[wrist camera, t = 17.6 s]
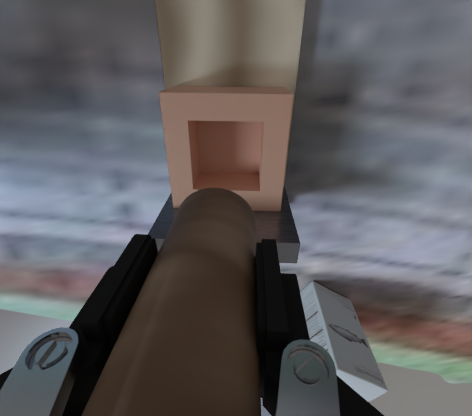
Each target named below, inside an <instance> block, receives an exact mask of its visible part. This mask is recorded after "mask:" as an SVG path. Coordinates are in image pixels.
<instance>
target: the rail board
mask: <svg viewBox="0 0 472 416" xmlns="http://www.w3.org/2000/svg"><path fill="white" fill-rule="evenodd" d="M305 2H306V0H155V5H156V14H157V23H158V32H159V40H160V49H161V58H162V66H163V75H164V84H165V90H166V89H168V88H171V87H173V86H218V87H285V88H286V89H287V90H289V91H290V92H291V93H292V94H293V101H292V111H291V120H290V129H289V138H288V147H287V156H286V165H285V174H284V183H283V187H285V179H286V170H287V161H288V152H289V143H290V135H291V126H292V117H293V108H294V99H295V90H296V82H297V73H298V64H299V55H300V46H301V37H302V28H303V20H304V11H305Z"/></svg>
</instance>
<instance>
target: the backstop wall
mask: <svg viewBox="0 0 472 416" xmlns="http://www.w3.org/2000/svg"><path fill="white" fill-rule="evenodd" d="M178 210H179V208H173V201H172V193H171V194H170V196H169V198H168V200H167V201H166V203H165V205H164V207H163V208H162V210H161V212H160V214H159V216H158V217H157V219H156V221H155V223H154V224H153V226H152V228H151V230H150V231H149V233H148V235H151V238H154V239H155V240H156V244H157V250H158V252H159V250H160V248H161V246H162V244H163V241H164V239H165V237H166V235H167V233H168V231H169V229H170V227H171V224H172V222H173V220H174V218H175V216H176V214H177V212H178ZM253 213H254V216H255V228H256V242H261V241H262V239H276V244H277V251H278V258H279V263H297V260H298V254H299V248H300V241H299V237H298V234H297V230H296V227H295V223H294V219H293V216H292V212H291V209H290V205H289V201H288V198H287V194H286V191H285V187H283V192H282V202H281V211H258V210H253Z"/></svg>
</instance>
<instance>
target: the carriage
mask: <svg viewBox="0 0 472 416" xmlns="http://www.w3.org/2000/svg"><path fill="white" fill-rule="evenodd" d="M159 98H160V106H161V114H162V122H163V130H164V137H165V145H166V153H167V161H168V169H169V177H170V185H171V193H172V201H173V208H179V207H180V205H181V204H182V202H183V201H184V200H185V199H186V198H187V197H188V196H189V195H190V194H192V193H194V192H196V191H198V190H201V189H205V188H223V189H227V190H230V191H232V192H234V193H236V194H238V195H240V196H241V197H242V198H243V199H245V200H246V201H247V203H248V204H249V205H250V207H251V208H252V210H258V211H281V202H282V192H283V183H284V174H285V165H286V156H287V147H288V138H289V129H290V120H291V111H292V101H293V94H292V93H291V92H290V91H289V90H287V89H286V88H285V87H218V86H173V87H171V88H168V89H166V90H163V91H161V92H159Z"/></svg>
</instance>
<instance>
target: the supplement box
mask: <svg viewBox="0 0 472 416" xmlns="http://www.w3.org/2000/svg"><path fill="white" fill-rule="evenodd" d="M300 295H301V299H302V304H303V309H304V314H305V319H306V323H307V328H308V333H309V338H310V341H313V342H315V343H317V344H319V345H320V346H322V347H323V348H324V349H325V350H326V351H327V352H328V353H329V354H330V356H331V358H332V359H333V361H334V364H335V368H336V375H337V376H338V377H339V378H341V379H342V380H343V381H344V382H345V383H346V384H348V385H349V386H350V387H351V388H352V389H353V390H355V391H356V392H357V393H358V394H359V395H360V396H362V397H363V398H364V399H365V400H366V401H367V402H369V401H371V400H373V399H375V398H377V397H379V396H380V395H382V394H384V393H385V392H387V391H388V389H387V387H386V385H385V382H384V380H383V377H382V375H381V372H380V370H379V368H378V365H377V363H376V360H375V358H374V355H373V353H372V351H371V348H370V346H369V343H368V341H367V338H366V336H365V334H364V331H363V329H362V326H361V324H360V321H359V319H358V317H357V314H356V312H355V309H354V307H353V305H352V302H351V300H350V299H348V298H345V297H343V296H341V295H339V294H337V293H335V292H333V291H331V290H329V289H327V288H325V287H323V286H321V285H320V284H318V283H316V282H314V281H312V282H311V283H310V284H309V285H308V286H307V287H306V288H305V289H303V290H302V291H301V292H300Z"/></svg>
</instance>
